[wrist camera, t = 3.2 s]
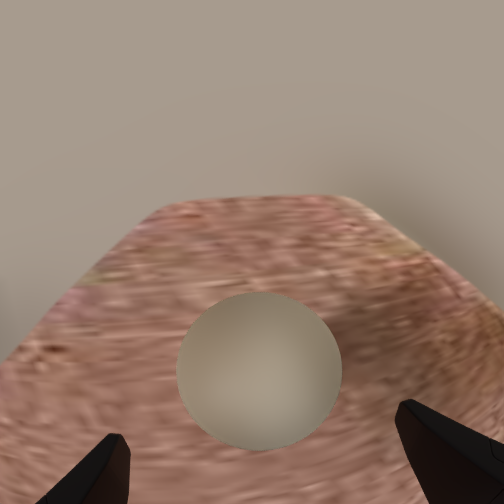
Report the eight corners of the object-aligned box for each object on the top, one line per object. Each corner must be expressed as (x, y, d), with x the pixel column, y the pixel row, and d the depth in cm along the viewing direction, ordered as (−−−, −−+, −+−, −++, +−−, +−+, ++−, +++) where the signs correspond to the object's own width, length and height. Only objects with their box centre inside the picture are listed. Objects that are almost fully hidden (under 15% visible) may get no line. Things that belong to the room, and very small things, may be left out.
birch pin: (285, 355, 18) (332, 289, 9) (289, 423, 16) (348, 440, 6) (215, 358, 18) (179, 293, 8) (216, 426, 16) (177, 449, 6)
